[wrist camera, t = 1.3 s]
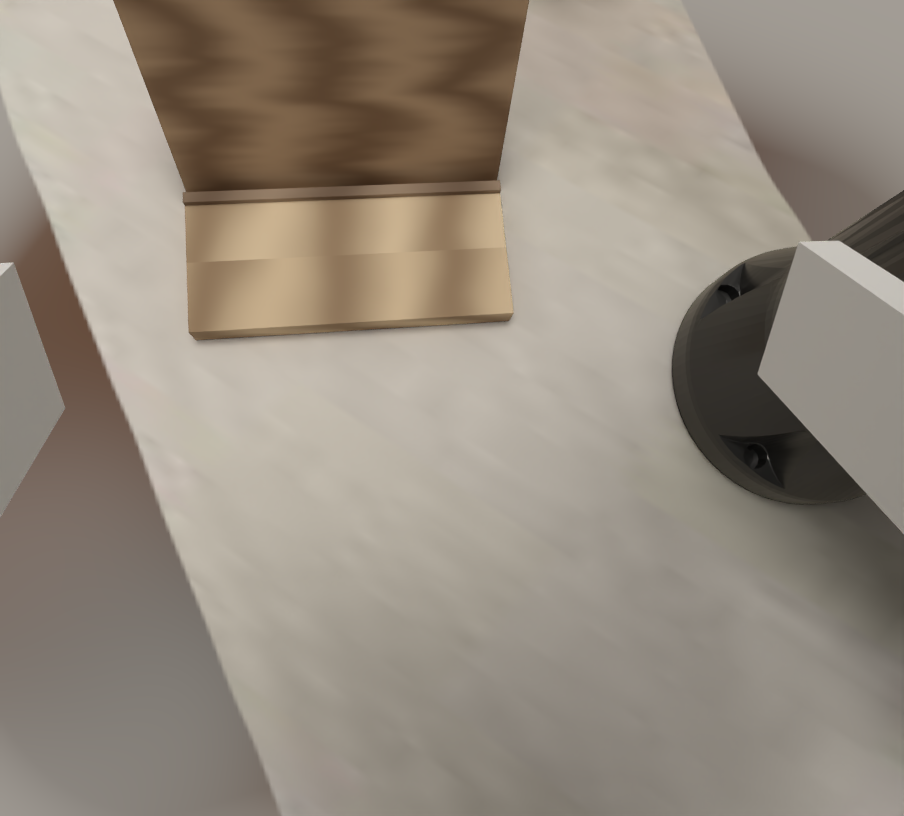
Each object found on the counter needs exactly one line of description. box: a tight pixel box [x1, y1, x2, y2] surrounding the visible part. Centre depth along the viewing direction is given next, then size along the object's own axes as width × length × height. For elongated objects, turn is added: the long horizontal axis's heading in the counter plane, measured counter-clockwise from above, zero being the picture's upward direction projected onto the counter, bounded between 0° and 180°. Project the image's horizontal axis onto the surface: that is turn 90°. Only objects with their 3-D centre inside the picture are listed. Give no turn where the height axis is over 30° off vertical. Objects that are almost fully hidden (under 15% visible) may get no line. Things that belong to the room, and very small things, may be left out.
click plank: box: [113, 0, 529, 192], centre depth 36 cm, size 18×2×13 cm, turn 95°
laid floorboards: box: [183, 180, 513, 340], centre depth 40 cm, size 18×8×2 cm, turn 95°
